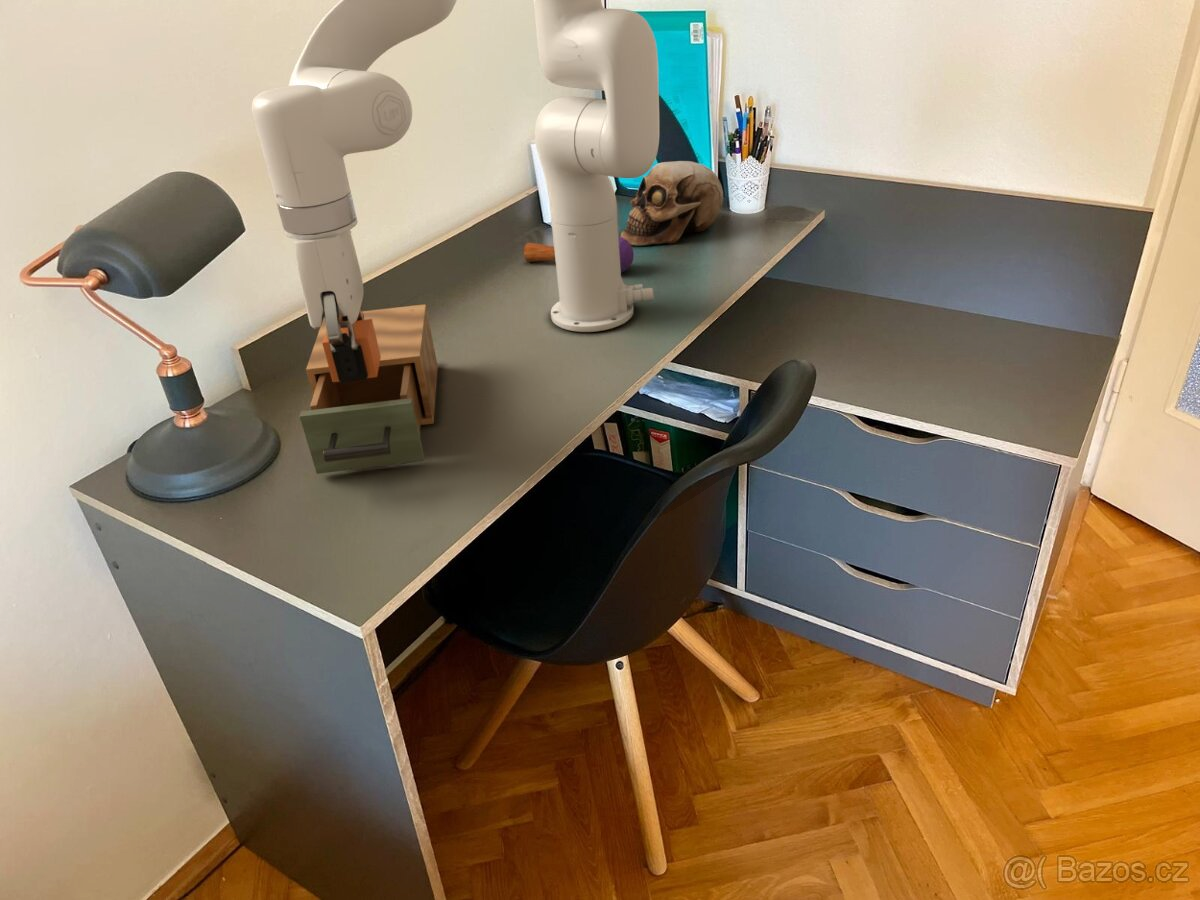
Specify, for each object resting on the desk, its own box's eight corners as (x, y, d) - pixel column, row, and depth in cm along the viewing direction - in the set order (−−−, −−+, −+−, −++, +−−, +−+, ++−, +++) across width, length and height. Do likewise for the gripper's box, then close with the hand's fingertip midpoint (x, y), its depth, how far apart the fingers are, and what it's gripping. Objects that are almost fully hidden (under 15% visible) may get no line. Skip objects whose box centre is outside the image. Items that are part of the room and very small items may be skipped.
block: (380, 357, 106) (371, 318, 103) (377, 377, 102) (367, 337, 99) (338, 362, 106) (328, 323, 103) (332, 382, 102) (321, 342, 99)
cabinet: (433, 423, 114) (419, 356, 108) (325, 436, 113) (305, 369, 107) (437, 366, 127) (425, 304, 121) (340, 378, 126) (324, 315, 121)
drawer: (421, 484, 101) (408, 425, 96) (310, 498, 100) (291, 439, 96) (429, 399, 117) (418, 346, 113) (333, 411, 116) (318, 357, 112)
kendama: (536, 232, 158) (638, 234, 149) (539, 266, 161) (640, 270, 152) (518, 237, 154) (622, 240, 145) (521, 272, 156) (624, 277, 147)
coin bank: (612, 242, 162) (613, 166, 156) (654, 221, 175) (657, 150, 169) (692, 255, 156) (697, 176, 149) (729, 232, 169) (735, 159, 162)
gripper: (295, 193, 101) (333, 339, 111) (265, 246, 86) (312, 408, 96) (362, 186, 101) (395, 332, 111) (344, 237, 87) (383, 400, 97)
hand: (356, 366), depth 104 cm, fingers closed on block, 5 cm apart
